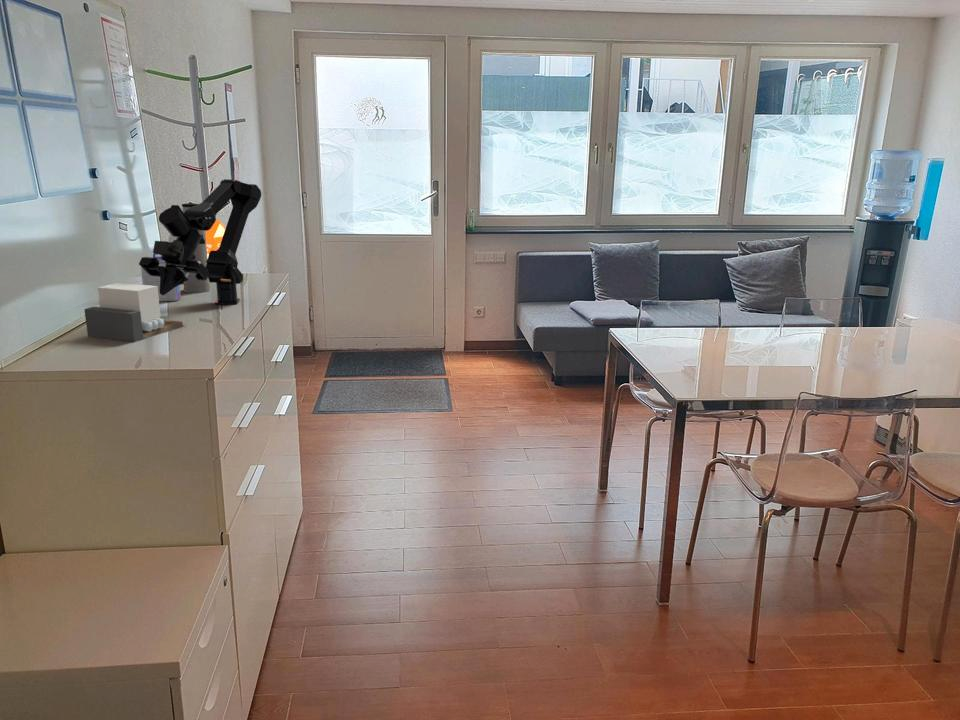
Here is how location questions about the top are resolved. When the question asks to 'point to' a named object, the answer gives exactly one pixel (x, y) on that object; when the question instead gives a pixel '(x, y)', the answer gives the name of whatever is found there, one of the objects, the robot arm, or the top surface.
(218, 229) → the orange juice
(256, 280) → the top surface
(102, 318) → the block
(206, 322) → the top surface
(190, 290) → the thermos bottle
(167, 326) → the brown wooden plank
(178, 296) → the ink cartridge box
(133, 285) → the white rectangular box
